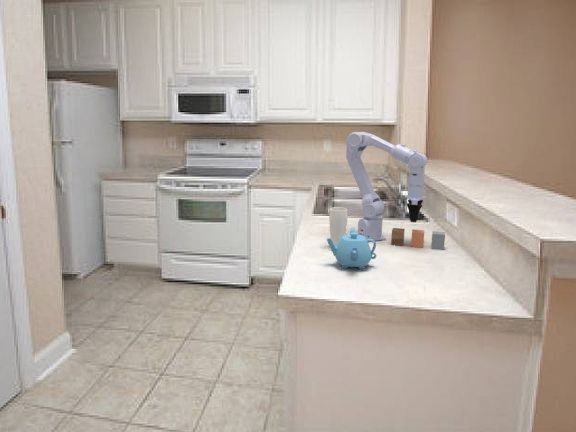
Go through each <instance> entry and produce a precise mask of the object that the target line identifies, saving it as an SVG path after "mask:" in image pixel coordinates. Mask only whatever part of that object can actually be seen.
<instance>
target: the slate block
mask: <svg viewBox="0 0 576 432" xmlns="http://www.w3.org/2000/svg"><path fill="white" fill-rule="evenodd" d="M431 234H432V235H431V245H430V246H431V247H430V248H431V250H437V251H438V250H440V251H445V242H446V241H445V240H446V232H445V231H436V230H432V232H431Z"/></svg>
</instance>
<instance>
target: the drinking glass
mask: <svg viewBox="0 0 576 432" xmlns="http://www.w3.org/2000/svg"><path fill="white" fill-rule="evenodd" d="M348 217H349V215H348V208H346V207H341V206H336V207H330V208H329V221H328V222H329V235H330V236H329V238H331V239H332V241H333V242H334V244H335V245H336V246H337V245H338V243H339V241H340V239H341V237H342V236H343V235H347V233H346V232H347V228H348V227H347V225H348Z"/></svg>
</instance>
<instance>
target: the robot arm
mask: <svg viewBox="0 0 576 432" xmlns="http://www.w3.org/2000/svg"><path fill="white" fill-rule="evenodd" d="M345 144H346V152H345V157H346V160H347V163H348V165H349V167H350V170H351V172H352V173H351V174H352V175H353V178H354V180H355V182H356V183H355V184H356V185H357V188H358V190H359V192H360V195H361V196H362V199H361V205H362V213H363V215H364V217H363V218H360V219H359V220H358V223H357V233H358V235H362V236H364V237H365V238H366V239H373V240H374V241H375V242H377V241H383V240H384V241H385V240H387V238H386V237H384V236H382V235H383V219H384V218H383V213H384V212H385V211H386V204H385V203H384V201H383V200H382V199H381V198H380V196H379V195H378V194H377V193H376V192H375V190H374V187H373V184H372V182H371V180H370V178H369V174H368V172H367V170H366V168H365V165H364V163H363V160H362V158H361V156H362V154H363V152H364V150H365V149H367V147H368V146H373V147H375V148H378V149H380V150H382V151H384V152H387V153H389V154H390V155H391V157H392V159H395V160H397V161H399V162H400V163H402V164H405V165H408V167H409V169H408V170H409V172H408V186H407V195H406V198H407V203H406V207H407V209H408V213H409V221H410V223H417V221H418V219H419V218H418V217H419V213H420V210H421V209H422V207H423V204H422V203H423V202H424V200H426V199H427V196H424V188H425V177H426V176H425V175H426V173H425V171H426V167H425V166H426V165H427V164H428V158H427V156H426V154H424V153H423V152H418V151H417V150H416V149H411V148H408V147H406V144H404V143H401V144H400V143H399V144H395V145H394V144H393V143H391V142H388V141H387V140H385V139H383V138H381V137H379V136H377V135H375V134H373V133H368V132H366V131H353V132H350V133H349V134H348V135H347V138H346V140H345ZM369 242H371V241H368V243H369Z"/></svg>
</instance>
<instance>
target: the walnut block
mask: <svg viewBox="0 0 576 432" xmlns="http://www.w3.org/2000/svg"><path fill="white" fill-rule="evenodd" d="M390 238H391V240H390V242H391V243H390V246H394V245H395V246H396V247H403V246H404V243H405V242H404V241H405V228H401V227H400V228H399V227H398V228H397V227H392V229H391V237H390Z"/></svg>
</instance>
